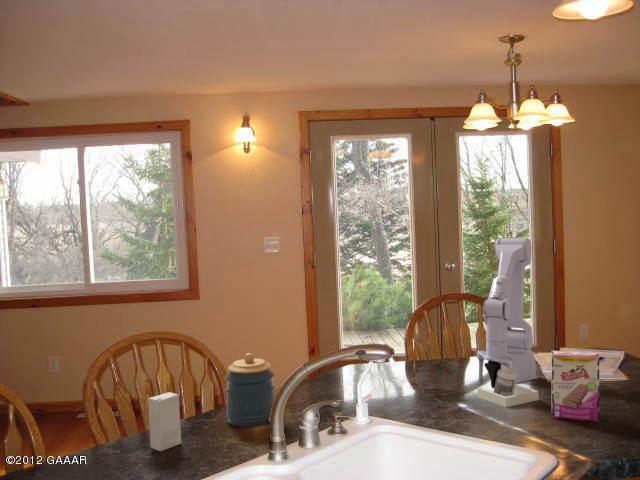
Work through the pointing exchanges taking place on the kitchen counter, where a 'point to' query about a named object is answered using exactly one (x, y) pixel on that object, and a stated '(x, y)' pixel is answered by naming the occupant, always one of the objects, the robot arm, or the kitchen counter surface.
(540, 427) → the kitchen counter surface
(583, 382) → the candy bar box
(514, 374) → the pill bottle
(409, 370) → the kitchen counter surface
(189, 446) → the kitchen counter surface
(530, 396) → the u-shaped bracket
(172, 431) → the skincare box
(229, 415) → the canister
